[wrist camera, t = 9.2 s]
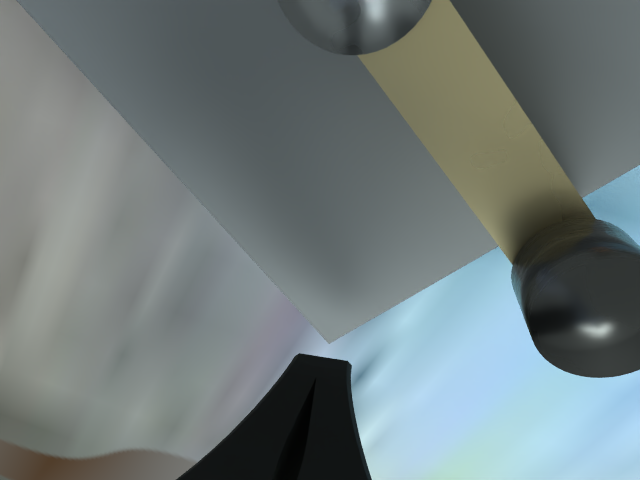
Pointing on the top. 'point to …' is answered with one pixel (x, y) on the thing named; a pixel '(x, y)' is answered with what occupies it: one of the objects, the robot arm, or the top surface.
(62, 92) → the top surface
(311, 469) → the robot arm
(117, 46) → the plate
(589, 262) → the crank
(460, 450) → the top surface
